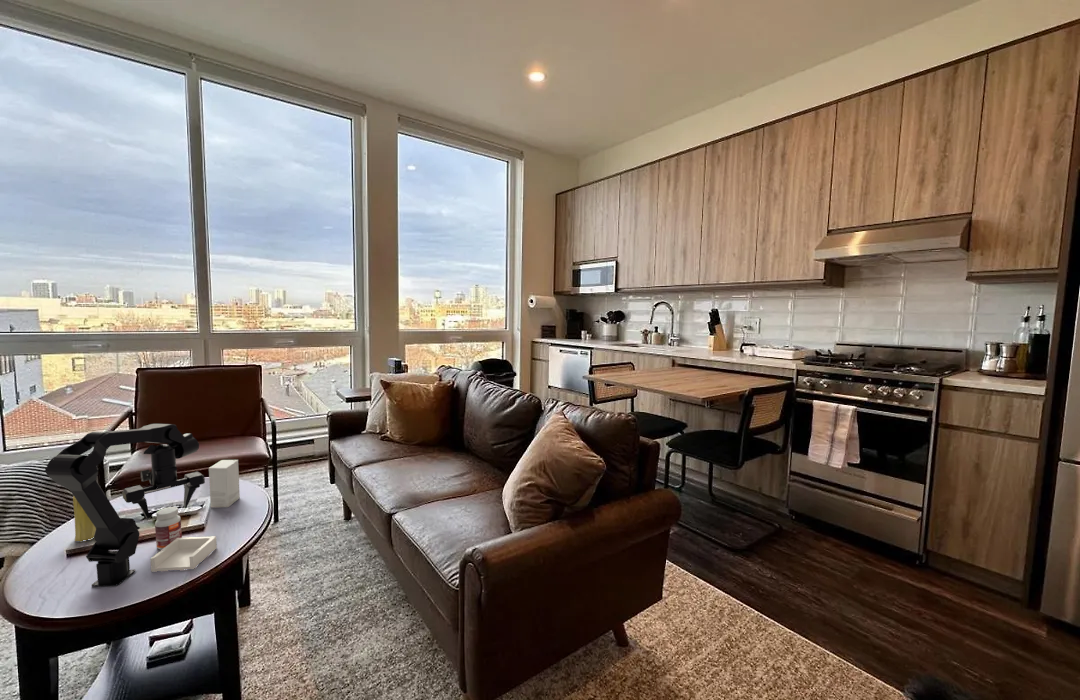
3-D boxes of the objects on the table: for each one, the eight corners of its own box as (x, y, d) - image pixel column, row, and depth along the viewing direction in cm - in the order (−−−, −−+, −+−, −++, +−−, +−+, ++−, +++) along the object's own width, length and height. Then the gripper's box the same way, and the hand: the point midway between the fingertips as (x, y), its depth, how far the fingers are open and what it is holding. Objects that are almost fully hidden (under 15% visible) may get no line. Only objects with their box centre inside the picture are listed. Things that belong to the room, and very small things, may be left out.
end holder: (194, 569, 126) (193, 556, 125) (151, 572, 124) (150, 558, 124) (216, 548, 136) (216, 536, 136) (177, 550, 135) (177, 537, 135)
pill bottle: (173, 549, 135) (171, 514, 134) (151, 550, 134) (148, 515, 133) (186, 539, 141) (184, 505, 140) (165, 540, 140) (163, 506, 139)
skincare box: (223, 498, 170) (221, 459, 169) (241, 497, 171) (239, 459, 169) (209, 508, 162) (207, 467, 160) (228, 507, 163) (226, 467, 161)
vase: (73, 544, 137) (69, 500, 135) (76, 536, 141) (72, 494, 140) (101, 538, 141) (97, 495, 139) (102, 530, 145) (99, 489, 144)
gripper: (193, 450, 147) (195, 495, 149) (116, 466, 133) (120, 515, 134) (204, 458, 141) (206, 505, 142) (124, 475, 126) (128, 527, 127)
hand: (167, 512), depth 137 cm, fingers open, 9 cm apart
